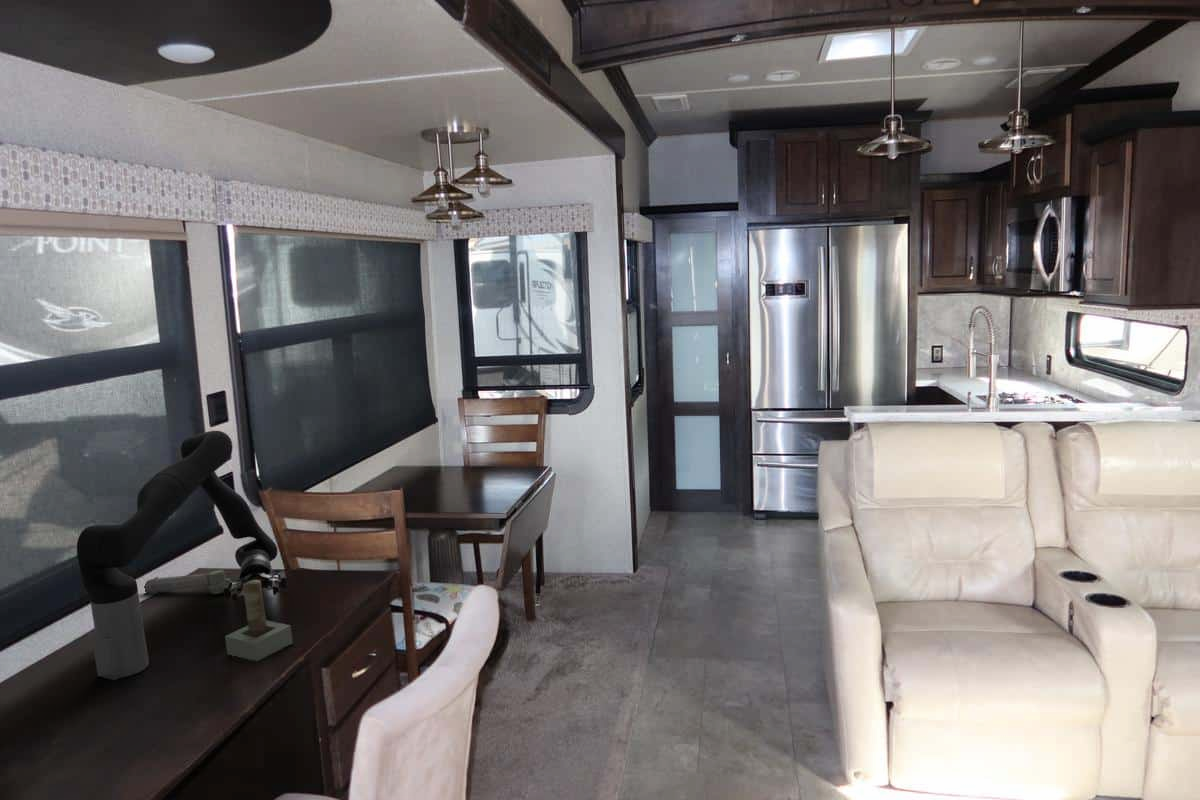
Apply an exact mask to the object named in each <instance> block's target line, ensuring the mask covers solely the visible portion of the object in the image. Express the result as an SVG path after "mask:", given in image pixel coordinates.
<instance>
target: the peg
mask: <svg viewBox="0 0 1200 800" xmlns="http://www.w3.org/2000/svg"><path fill="white" fill-rule="evenodd" d="M243 590H244V595H243V596H244V597H243V598H244V603H245V612H246V617H247V618H246V619H247V620H246V621H247V626H248V628H249V635H250V636H251V637H255V638H257V637H259V636H261V635H263V634H265V633H267V626H266V620H267V619H266V613H265V612H266V611H265V604H264V597H263V591H262V588H261V581H260V580H252V581H248V582H245V583H244V584H243Z"/></svg>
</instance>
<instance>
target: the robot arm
mask: <svg viewBox="0 0 1200 800" xmlns="http://www.w3.org/2000/svg"><path fill="white" fill-rule="evenodd" d="M232 453H233V441H232V439H231V437H230V435H228V434H227V433H226V432H225V431H222V430H209V431H205V432H202V433H199V434H195V435H192V436H189V437H187V438H185V439H183V441H182V443H181V446H180V454H181V458H182V459H180V460H178V461H176V462H174V463H173V464H171V465H168V466H166V468H164V469H162V470H161V471H159V472H158V473H156V474H155V475H154V476H152V477H151V479H149V480H148V481H147V482H146V483H145V484H144V485H143V487H142V488H141V489H140V490H139V492H138V495H137V499H136V507H137V508H136V509H137V511H136V512H135V514H133V515H132V516H131V517H130V518H129V519H128V520H126V521H124V522H123V523H119V524H95V525H89V526H87V527H85V528H84V529H83V530H82V531H81V532H80V534H79V536H78V537H77V538H78V539H77V541H76V556H77V562H78V566H79V570H80V575H81V579H82V584H83V587H84V590H85V592H86V593H87V595H88V596H89V603H90V606H91V614H92V615H91V616H92V620H93V627H94V632H95V633H93V634H92V635H91V642H92V647H93V653H94V660H95V666H96V673H97V676H98V677H101V678H104V679H109V680H111V681H117V680H118V679H122V678H126V677H130V676H133V675H136V674H137V673H140V672H142V671H144V670H146V669H147V668H148V667H149V665H150V661H149V653H148V648H147V641H146V636H145V628H144V622H143V616H142V615H143V614H142V608H141V601H140V596H139V595H140V594H139V589H138V588H139V587H138V583H137V581H136V579H135V578H134V577H132V576H130V575H127V574H126V573H123V572H122V571H120V569H118V568H124V567H126V566H129V565H130V564H132V562H134V561H135V559H137V558H138V556H139V555H140V554H141V553H142V551H143V550H144V549H145V548H146V546H147V544H148V543H149V542H150V540H151V539H152V537H153V536H155V534H156V533H157V532H158V531H159V529H160V528H162V526H163V525H164V524H165V523H166V521H167V520H168V519H169V518H170V517H171V516H172V515H173V514H174V513H175V512H176V511H177V510H178V509H180V507H181V506H182V505H183V504H184V503H185V502H186V501H187V499H188V498H189V497H190V496H191V495H192V494H193V493H195V491H196V490H197V489H198V488H199V487H202V489H203V490H204V492H206V494H207V495H208V497H209V498H210V499H211V501H212V502H213V504H214V505H215V507H216V509H217V510H218V512H219V514H220V515H221V518H222V520H223V521H224V523H225V525H226V527H227V530H228V532H229V533H230V535H231V536H232V538H233V539H235V540H241V539H246V538H252V539H253V540H252V541H250V542H248V543H246V544H243V545H241V546H239V547H238V548H237V549H236V550H235V553H234V554H235V555H234V558H235V561H236V563H237V565H238V566H239V568H240V571H239V579H238V580H237V581H236V582H233V581H230V580H231V579H230V580H227V581H225V584H224V587H223V591H224V592H223V597H224V599H229V598H231V601H234V603H237V602H239V597H240V596H244V590H243V584H244V583H245V582H248V581H252V580H260V581H261V588H262V592H263V591H267V592H269V591H270V592H271V591H272V594H273V596H277V594H278V593H279V592H280V588H281V589H286V588H288V583H287V575H286V572H285V570H281V571H279V573H277V574H276V575H274V574H273V570H272V569H273V568H272V565H271V562H272V561H274V560H276V558H277V557H278V546H277V544H276V543H275V542H274V541H273V539H272V538H271V537H270V536H269V535H268V534H267V533H266V532H265V531H264V530H263V528H262V527H261V526H260V524H259V523H258V522H257V520H256V518H255V516H254V515H253V514H254V513H253V511H252V510H251V508H250V506H249V505H248V503H247V501H246V500H245V499H244V498H243V496H241V495H240V494H239V493H238V492H237V491H235V490H234V489H232V488H231V487H230V486H228V485H227V484H226V483H225V482H224V481H223V480H222V479H221V478H220V476H218V475H217V473H216V471H217V470H218V469H220V468H221V467H222V466H223V465H225V464H226V463H227V462H228V461H229V459H230V458H231V456H232Z"/></svg>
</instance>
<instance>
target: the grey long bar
mask: <svg viewBox="0 0 1200 800" xmlns="http://www.w3.org/2000/svg"><path fill="white" fill-rule="evenodd" d="M147 580H148V581H147V582H146V584H145V586H144V588H145V592H146V593H148V594H147V595H151V594H153V595H154V594H155V595H158V594H159V592H160V593H165V592H170V591H171V592H172V591H177V590H183V589H190V588H196V587H203V586H206V587H207V589H209V592H210V594H211V593H212V594H211V595H214V594H219V593H220V594H221V593H224V591H223V587H224V584H225V581H227V580H230V581H231V578H227V576H226V574H225V571H224V570H223V569H219V570H214V571H211V572H209V573H202V574H201V573H200V574H188V575H180V576H179V575H178V576H167V577H158V576H155V577H154V578H151V579H150V580H149V579H147ZM231 582H232V581H231ZM157 593H158V594H157ZM220 594H219V595H220Z"/></svg>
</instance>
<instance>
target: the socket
mask: <svg viewBox="0 0 1200 800" xmlns="http://www.w3.org/2000/svg"><path fill="white" fill-rule="evenodd" d="M266 626H267V633H265V634H263V635H261V636H259V637H257V638H255V637H251V636H250V635H249V628H248V625H246V626H244V627H242V628H240V629H238V630H235V631H233V632H231V633H229V634H227V635H225V636H224V640H225V646H226V654H229V655H228V656H230V655H232V656H231V657H234V656H237V657H236V658H238V657H241V658H240V659H242V658H247V659H251V660H256V661H258V660H260V659H262V658H264V657H266V656H268V655H269V654H272V653H274V652H276V651H278V650H280V649H282V648H283V647H286V646H288V645H290V646H292V645H293V644H294V643H293V642H294V641H293V634H292V627H291V625H290V624H285V623H281V622H275V621H272V620H267V619H266ZM291 644H292V645H291ZM288 647H289V646H288ZM286 648H287V647H286ZM282 650H283V649H282ZM280 651H281V650H280ZM278 652H279V651H278ZM276 653H277V652H276Z"/></svg>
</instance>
